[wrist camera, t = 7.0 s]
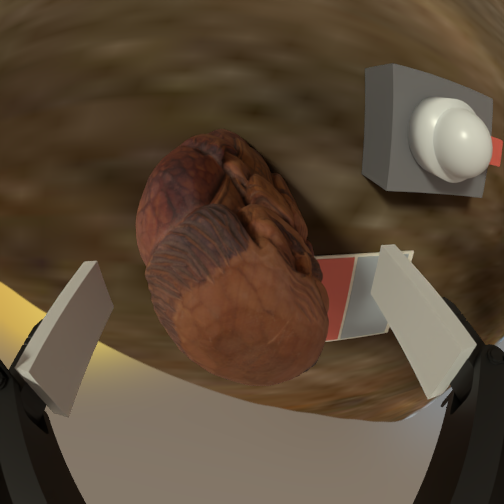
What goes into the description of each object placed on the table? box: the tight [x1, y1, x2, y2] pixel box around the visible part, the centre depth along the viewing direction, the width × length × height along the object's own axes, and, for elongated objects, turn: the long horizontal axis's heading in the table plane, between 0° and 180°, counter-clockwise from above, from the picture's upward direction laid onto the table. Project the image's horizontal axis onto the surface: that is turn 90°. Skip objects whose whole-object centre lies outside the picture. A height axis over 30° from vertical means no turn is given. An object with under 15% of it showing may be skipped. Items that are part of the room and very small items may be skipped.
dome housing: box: [362, 63, 503, 198], centre depth 18 cm, size 12×10×7 cm
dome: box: [408, 97, 493, 183], centre depth 14 cm, size 6×6×5 cm
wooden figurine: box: [136, 129, 329, 386], centre depth 16 cm, size 12×6×18 cm, turn 42°
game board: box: [314, 250, 414, 342], centre depth 31 cm, size 22×13×1 cm, turn 92°
